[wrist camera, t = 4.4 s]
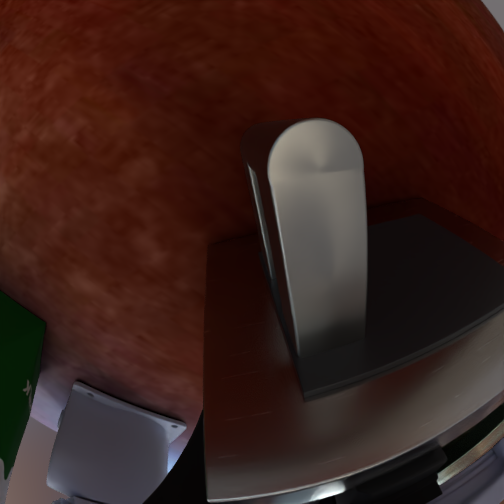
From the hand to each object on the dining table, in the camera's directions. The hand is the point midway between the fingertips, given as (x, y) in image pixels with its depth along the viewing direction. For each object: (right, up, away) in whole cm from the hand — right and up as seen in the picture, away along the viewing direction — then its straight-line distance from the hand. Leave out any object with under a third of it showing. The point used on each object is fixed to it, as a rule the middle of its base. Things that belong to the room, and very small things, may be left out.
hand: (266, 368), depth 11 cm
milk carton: (-18, -1, +3) cm, 19 cm away
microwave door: (+3, +8, +1) cm, 8 cm away
